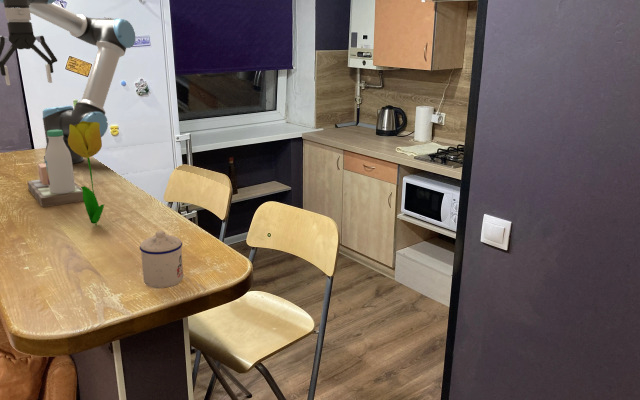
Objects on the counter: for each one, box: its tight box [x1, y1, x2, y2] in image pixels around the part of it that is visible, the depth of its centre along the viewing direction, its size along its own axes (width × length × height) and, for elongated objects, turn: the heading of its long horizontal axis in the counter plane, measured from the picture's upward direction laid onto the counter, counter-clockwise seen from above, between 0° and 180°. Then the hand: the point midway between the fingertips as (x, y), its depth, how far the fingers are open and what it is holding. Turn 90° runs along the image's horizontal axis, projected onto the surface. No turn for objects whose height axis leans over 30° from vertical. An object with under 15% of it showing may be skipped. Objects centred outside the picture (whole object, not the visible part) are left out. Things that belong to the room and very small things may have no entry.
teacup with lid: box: [139, 230, 184, 289], centre depth 120 cm, size 12×9×12 cm
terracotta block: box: [37, 163, 48, 185], centre depth 184 cm, size 6×6×6 cm
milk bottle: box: [44, 130, 76, 194], centre depth 171 cm, size 8×8×20 cm
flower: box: [68, 121, 105, 226], centre depth 149 cm, size 9×8×30 cm
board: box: [27, 179, 84, 208], centre depth 181 cm, size 24×13×3 cm, turn 37°
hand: (29, 83), depth 191 cm, fingers open, 13 cm apart
